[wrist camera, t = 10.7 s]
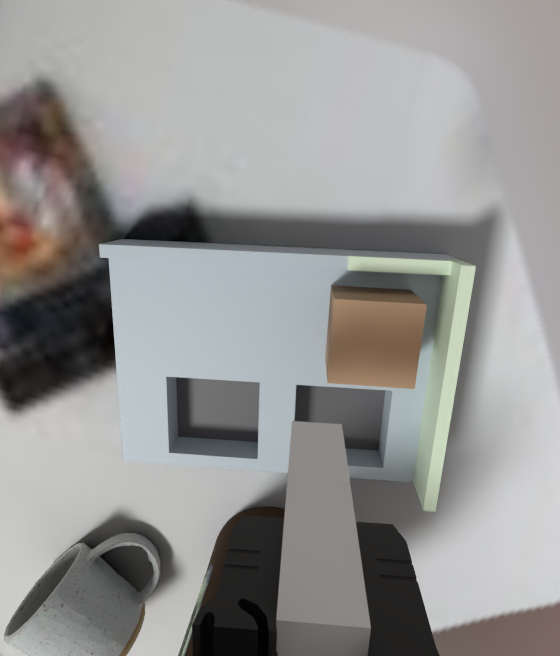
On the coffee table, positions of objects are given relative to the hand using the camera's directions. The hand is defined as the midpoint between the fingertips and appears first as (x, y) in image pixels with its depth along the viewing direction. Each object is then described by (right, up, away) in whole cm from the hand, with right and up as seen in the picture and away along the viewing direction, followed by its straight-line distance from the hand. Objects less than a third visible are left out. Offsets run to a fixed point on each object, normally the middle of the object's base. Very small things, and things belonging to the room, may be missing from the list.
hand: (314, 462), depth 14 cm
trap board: (-1, +2, +19) cm, 19 cm away
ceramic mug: (-16, -17, +26) cm, 35 cm away
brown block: (+5, +4, +15) cm, 16 cm away
